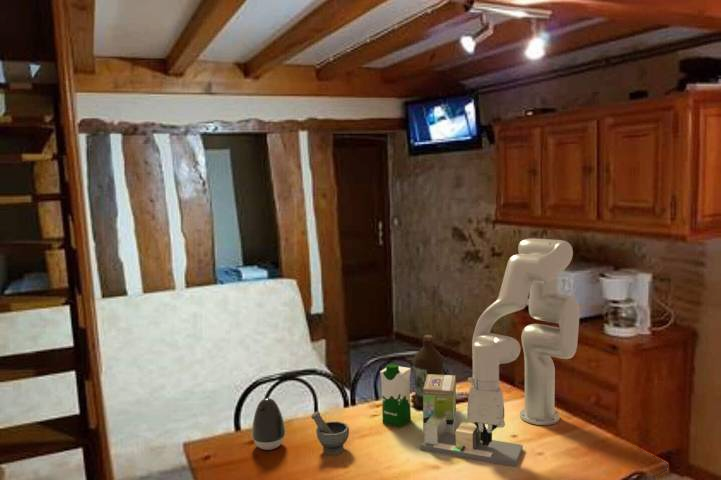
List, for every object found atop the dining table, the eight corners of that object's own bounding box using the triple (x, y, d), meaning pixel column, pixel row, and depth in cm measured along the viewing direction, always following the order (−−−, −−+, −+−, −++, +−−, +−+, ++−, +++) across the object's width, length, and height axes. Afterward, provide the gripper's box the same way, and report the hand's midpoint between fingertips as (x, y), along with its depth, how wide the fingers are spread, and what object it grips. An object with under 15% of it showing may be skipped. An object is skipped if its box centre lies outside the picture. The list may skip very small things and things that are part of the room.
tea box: (454, 435, 186) (453, 390, 184) (422, 433, 188) (421, 388, 186) (456, 416, 200) (456, 374, 199) (426, 414, 202) (426, 372, 201)
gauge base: (432, 434, 187) (432, 429, 187) (522, 449, 175) (522, 444, 175) (420, 449, 177) (420, 444, 177) (515, 466, 165) (515, 461, 165)
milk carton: (378, 424, 196) (377, 365, 194) (392, 414, 204) (390, 357, 201) (402, 429, 191) (400, 369, 189) (414, 419, 199) (413, 361, 197)
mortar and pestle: (350, 442, 183) (348, 405, 182) (349, 456, 174) (347, 417, 173) (313, 443, 184) (312, 406, 182) (311, 457, 174) (309, 418, 173)
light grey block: (434, 431, 185) (433, 413, 185) (446, 433, 184) (446, 415, 183) (424, 443, 177) (424, 424, 177) (437, 446, 176) (437, 426, 175)
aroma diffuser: (246, 451, 179) (243, 403, 178) (263, 436, 189) (260, 391, 187) (275, 456, 176) (273, 407, 174) (291, 441, 186) (289, 394, 184)
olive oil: (430, 396, 219) (428, 330, 216) (450, 404, 210) (449, 336, 207) (408, 403, 213) (406, 335, 210) (427, 412, 204) (426, 342, 201)
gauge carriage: (462, 437, 181) (462, 421, 180) (481, 440, 178) (481, 424, 177) (453, 450, 172) (453, 434, 171) (473, 454, 170) (472, 437, 169)
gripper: (457, 384, 171) (458, 444, 173) (509, 391, 165) (509, 453, 167) (464, 376, 178) (464, 434, 180) (514, 382, 172) (514, 442, 174)
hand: (486, 443), depth 174 cm, fingers closed
